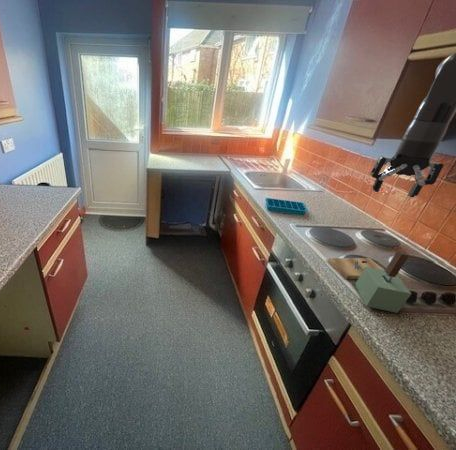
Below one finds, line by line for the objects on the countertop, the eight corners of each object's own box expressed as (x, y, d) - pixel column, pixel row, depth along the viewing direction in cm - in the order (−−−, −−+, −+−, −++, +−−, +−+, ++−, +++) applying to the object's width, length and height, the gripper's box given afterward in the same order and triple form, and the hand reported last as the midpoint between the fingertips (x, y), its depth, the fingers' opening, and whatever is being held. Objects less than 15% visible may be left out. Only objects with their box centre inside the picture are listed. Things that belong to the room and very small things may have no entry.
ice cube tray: (263, 202, 144) (265, 197, 142) (302, 207, 139) (304, 202, 137) (265, 210, 134) (266, 205, 132) (306, 216, 129) (308, 211, 127)
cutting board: (367, 261, 97) (369, 257, 96) (389, 278, 88) (391, 275, 87) (327, 261, 96) (329, 258, 95) (346, 278, 87) (347, 275, 87)
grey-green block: (354, 284, 85) (364, 266, 81) (382, 290, 83) (394, 271, 79) (366, 306, 77) (378, 287, 73) (397, 313, 75) (411, 293, 71)
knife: (371, 292, 81) (397, 249, 72) (377, 293, 80) (404, 250, 72) (374, 297, 78) (402, 254, 70) (381, 299, 78) (409, 255, 69)
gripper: (449, 138, 68) (417, 194, 76) (385, 134, 73) (361, 186, 81) (464, 143, 62) (428, 203, 70) (393, 138, 67) (366, 193, 75)
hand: (392, 193), depth 76 cm, fingers open, 8 cm apart
